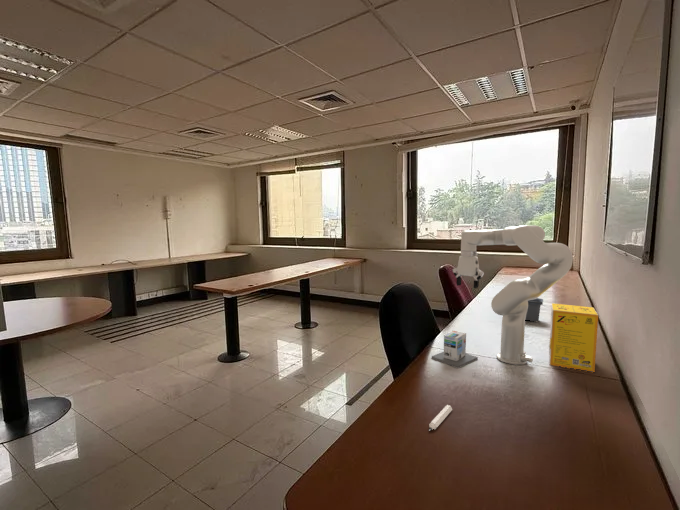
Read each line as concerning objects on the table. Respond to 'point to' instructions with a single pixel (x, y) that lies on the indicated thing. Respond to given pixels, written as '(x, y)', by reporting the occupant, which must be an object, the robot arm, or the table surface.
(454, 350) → the light bulb box
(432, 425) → the marker
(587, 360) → the packaging box
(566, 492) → the table surface
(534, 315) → the storage bin
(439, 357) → the mat
